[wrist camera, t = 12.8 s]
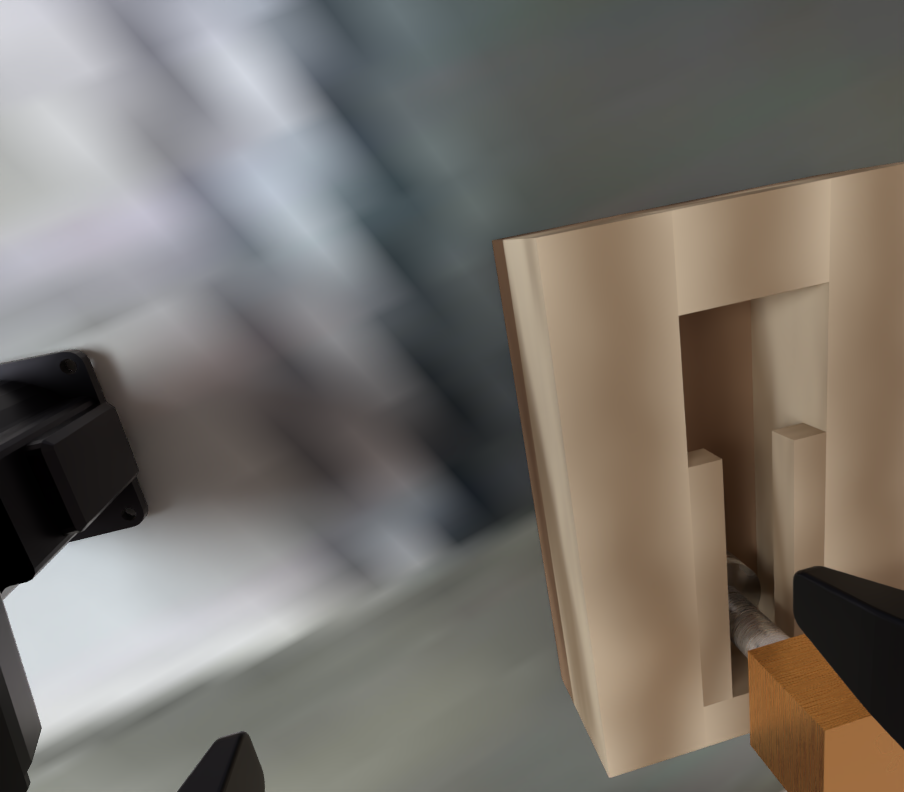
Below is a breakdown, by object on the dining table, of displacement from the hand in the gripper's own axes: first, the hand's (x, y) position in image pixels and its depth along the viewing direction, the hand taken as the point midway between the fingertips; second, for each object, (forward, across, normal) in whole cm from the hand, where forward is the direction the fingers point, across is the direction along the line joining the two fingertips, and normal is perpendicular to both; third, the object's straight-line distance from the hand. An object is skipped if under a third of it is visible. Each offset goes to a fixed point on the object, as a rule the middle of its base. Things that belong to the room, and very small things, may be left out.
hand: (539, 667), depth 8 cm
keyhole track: (+13, -10, +4) cm, 17 cm away
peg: (+11, -10, +10) cm, 18 cm away
